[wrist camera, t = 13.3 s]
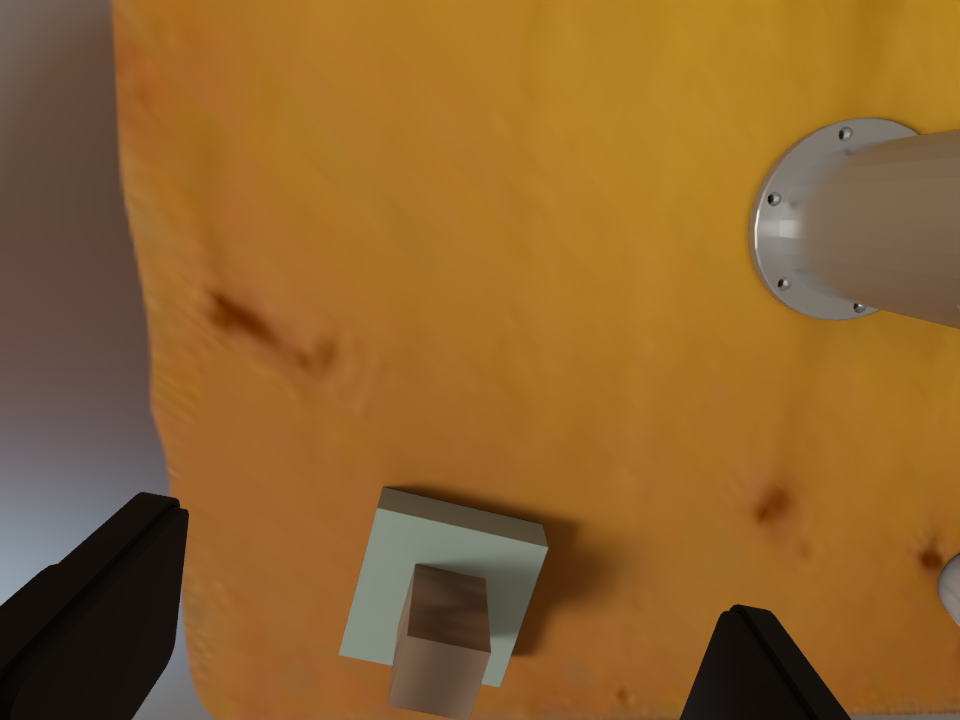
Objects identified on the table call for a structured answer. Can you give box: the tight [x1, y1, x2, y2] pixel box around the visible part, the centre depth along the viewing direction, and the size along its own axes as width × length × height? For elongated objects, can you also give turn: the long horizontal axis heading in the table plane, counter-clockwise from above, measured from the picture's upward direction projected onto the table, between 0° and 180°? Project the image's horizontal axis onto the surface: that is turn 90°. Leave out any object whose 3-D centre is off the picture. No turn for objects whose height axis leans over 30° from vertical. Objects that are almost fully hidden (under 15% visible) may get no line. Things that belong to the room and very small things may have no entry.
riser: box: [339, 487, 548, 687], centre depth 43 cm, size 12×12×3 cm
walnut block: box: [387, 564, 491, 720], centre depth 38 cm, size 5×5×7 cm
